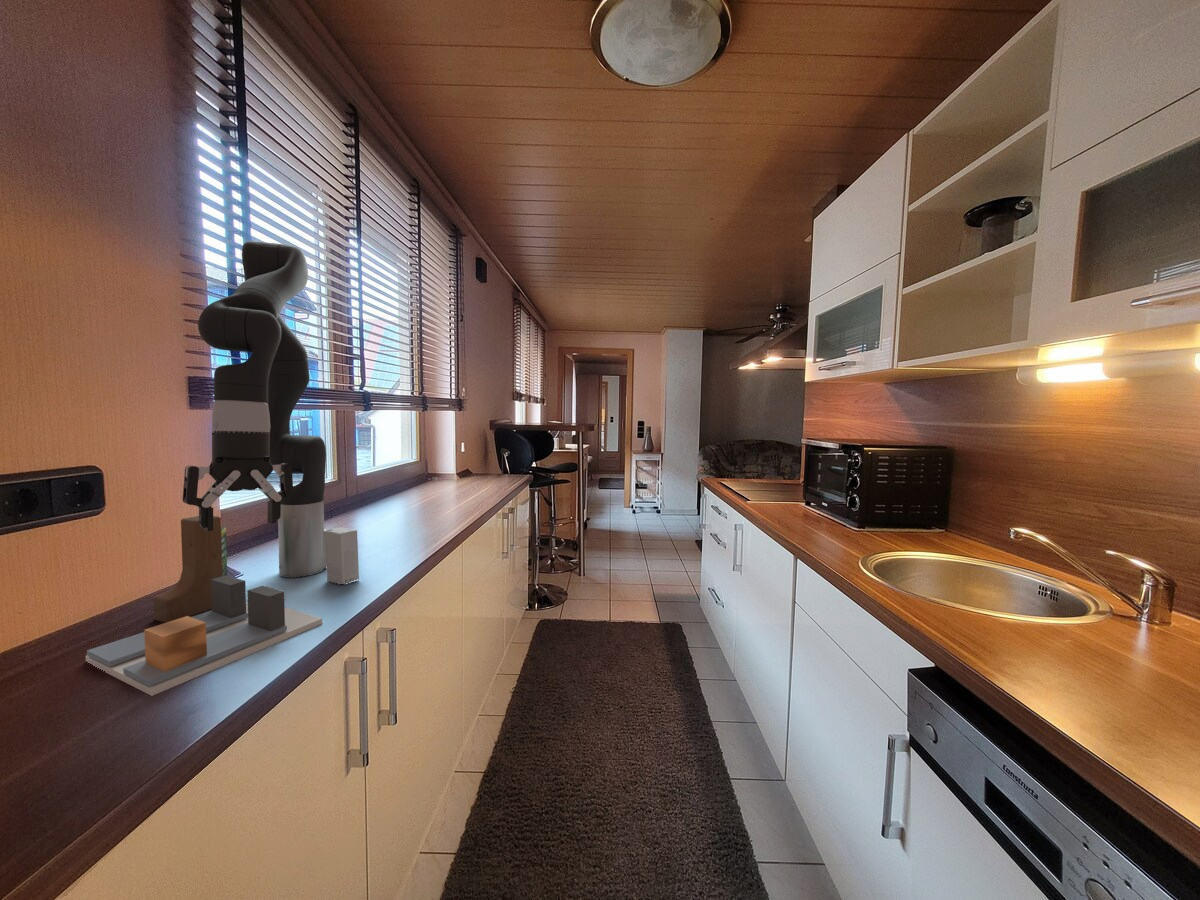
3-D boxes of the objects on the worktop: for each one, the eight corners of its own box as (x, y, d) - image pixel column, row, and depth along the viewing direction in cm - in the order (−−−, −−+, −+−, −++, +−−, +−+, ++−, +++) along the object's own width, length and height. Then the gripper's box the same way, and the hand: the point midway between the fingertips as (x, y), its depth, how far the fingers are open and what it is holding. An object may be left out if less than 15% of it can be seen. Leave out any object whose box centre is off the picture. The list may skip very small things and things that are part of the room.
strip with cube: (261, 622, 80) (260, 585, 79) (286, 630, 77) (286, 592, 77) (123, 673, 63) (121, 627, 63) (149, 686, 61) (147, 638, 60)
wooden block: (167, 624, 80) (164, 526, 79) (152, 620, 82) (149, 523, 81) (224, 605, 89) (221, 516, 88) (209, 602, 90) (207, 514, 89)
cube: (188, 647, 69) (187, 615, 69) (206, 654, 67) (205, 622, 67) (145, 663, 65) (144, 629, 64) (164, 671, 63) (162, 637, 62)
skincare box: (360, 580, 104) (359, 529, 103) (341, 586, 100) (341, 533, 99) (343, 575, 107) (342, 526, 106) (324, 581, 103) (323, 529, 102)
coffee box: (218, 596, 93) (216, 534, 92) (200, 599, 92) (198, 536, 91) (228, 583, 100) (227, 526, 99) (212, 585, 99) (210, 527, 98)
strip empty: (225, 610, 84) (224, 574, 84) (247, 617, 81) (247, 581, 81) (87, 655, 68) (84, 611, 67) (109, 666, 65) (107, 621, 64)
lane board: (258, 604, 90) (258, 599, 90) (322, 623, 83) (322, 618, 82) (86, 662, 68) (85, 656, 68) (151, 696, 60) (151, 688, 60)
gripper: (283, 430, 82) (282, 518, 83) (178, 428, 71) (178, 529, 71) (299, 430, 78) (299, 523, 78) (190, 428, 66) (190, 536, 67)
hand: (241, 526), depth 75 cm, fingers open, 8 cm apart
